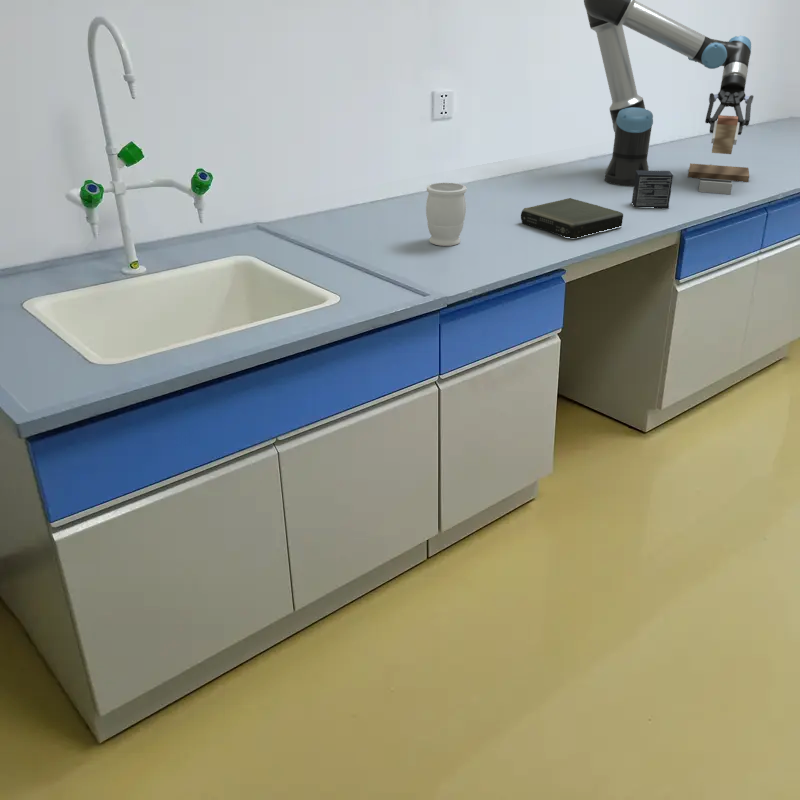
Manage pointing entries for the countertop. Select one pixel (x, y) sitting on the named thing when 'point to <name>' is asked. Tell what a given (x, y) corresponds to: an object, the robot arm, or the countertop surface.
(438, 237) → the jar
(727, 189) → the frame
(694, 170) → the walnut board
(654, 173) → the small box
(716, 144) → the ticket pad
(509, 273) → the countertop surface
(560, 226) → the network switch
